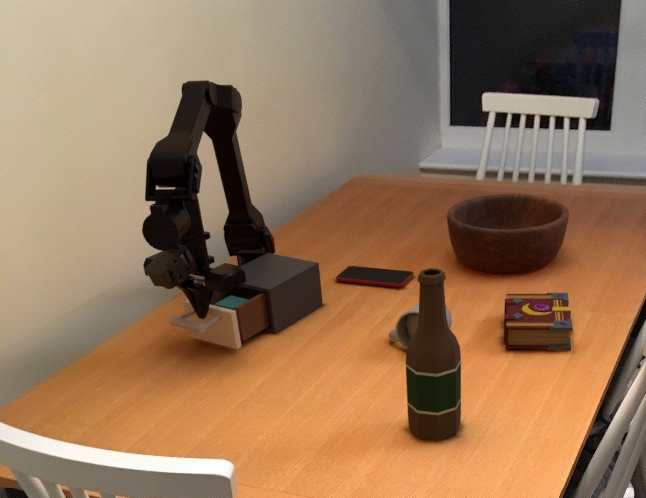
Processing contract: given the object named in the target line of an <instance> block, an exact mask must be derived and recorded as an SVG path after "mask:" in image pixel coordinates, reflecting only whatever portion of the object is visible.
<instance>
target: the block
mask: <svg viewBox="0 0 646 498" xmlns="http://www.w3.org/2000/svg"><path fill="white" fill-rule="evenodd" d="M248 300H249V299H245V298H240V297H236V296H232V295H231V296H229V297H227V298H225V299H223V300H221V301H219V302H217V303H215V306H218V307H223V308H227V309H231V310H235V307H237V306H238V305H240V304H242V303H244V302H246V301H248Z"/></svg>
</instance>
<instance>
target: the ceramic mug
mask: <svg viewBox="0 0 646 498" xmlns="http://www.w3.org/2000/svg"><path fill="white" fill-rule="evenodd" d="M446 318H447V322H448V327H449V329H450V330H451V328H452V323H453V320H452V319H453V318H452V314H451V312H450V309H448V307H447V306H446ZM418 320H419V303H418V304H416V305H414V306H413V307H411V308H410V309H408V310H407V311H405V312H404V313H402V314H401V315H400V316H399V318H398V319H397V321H396V323H395V328H393V329H392V330H391V331H389V332H388V338H389V339H390V341H391V343H396V342H399V343H400V344H399V345H401V346H402V347H403V348H404V349H405V350H406V351H407V348H408V345H409V342H410V340H411V338H412V337H413V335H414V334H415V332H416V331H417V326H418Z"/></svg>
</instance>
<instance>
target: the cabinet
mask: <svg viewBox="0 0 646 498" xmlns="http://www.w3.org/2000/svg"><path fill="white" fill-rule="evenodd" d="M241 267H242V268H243V269H244V270H245V276H246V282H245V283H243V284H241V285H239V287H244V288H248V289H253V290H257V291H262V292H266V293H267V300H268V307H269V314H270V321H271V325H270V326H269V327H267V328H265V329H263V330H262V331H263V332H268V333H271V334H277V333H279V332H281V331H282V330H284V329H286V328H287V327H289V326H290V325H292V324H294V323H296V322H297V321H299V320H300V319H302V318H304V317H305V316H307V315H309V314H310V313H312V312H314V311H315V310H317V309H319V308H320V307H322V306H324V304H323V293H322V284H321V272H320V263H319V262H317V261H311V260H306V259H301V258H296V257H291V256H286V255H282V254H281V255H280V254H276V253H274V254H271V253H267V254H265V255H263V256H261V257H259V258H257V259H255V260H253V261H250V262H248V263H246V264H244V265H242V266H241Z"/></svg>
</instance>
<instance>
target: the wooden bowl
mask: <svg viewBox="0 0 646 498" xmlns="http://www.w3.org/2000/svg"><path fill="white" fill-rule="evenodd" d="M569 217H570V212H569V209H568V208H567V206H566V205H564V203H562V202H560V201H558V200H555V199H553V198H548V197H545V196H540V195H533V194H524V193H501V194H500V193H498V194H487V195H481V196H476V197H471V198H468V199H465V200H461V201H460V202H457V203H455V204H454V205H452V206H451V207H450V208H449V209H448V211H447V213H446V221H447V230H448V235H449V240H450V244H451V248H452V250H453V252H454V255H455V256H456V258H457V259H458V261H459V262H460V263H461V264H462V265H463V266H464V267H466V269H467V268H468V269H469V270H472V271H475V272H478V273H482V274H488V275H499V276H512V275H522V274H523V275H524V274H529V273H533V272H536V271H539V270H542V269H544V268H546V267H547V266H549V265H550V264H551V263H552V262H553V261H554V260H555V259H556V257H557V256H558V254H559V253H560V251H561V248H562V246H563V243H564V241H565V237H566V234H567V233H566V232H567V229H568V223H569Z"/></svg>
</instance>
